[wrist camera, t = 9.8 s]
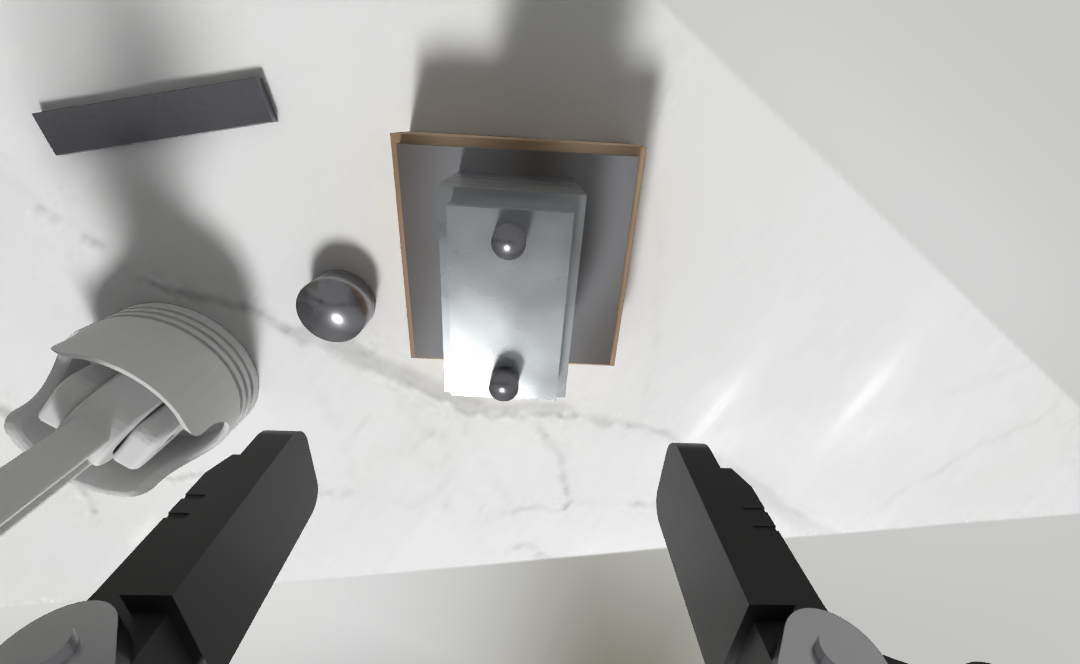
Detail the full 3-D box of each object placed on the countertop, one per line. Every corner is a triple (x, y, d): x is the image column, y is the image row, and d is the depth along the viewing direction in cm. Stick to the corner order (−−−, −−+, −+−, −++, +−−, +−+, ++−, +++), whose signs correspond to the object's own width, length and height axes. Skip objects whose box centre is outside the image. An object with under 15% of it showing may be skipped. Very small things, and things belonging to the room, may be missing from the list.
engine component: (287, 372, 30) (143, 271, 26) (-117, 784, 11) (-758, 620, 8) (208, 456, 33) (71, 375, 30) (-206, 883, 14) (-688, 795, 11)
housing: (458, 171, 20) (425, 192, 14) (575, 179, 20) (592, 204, 14) (461, 341, 24) (436, 415, 18) (559, 346, 24) (567, 421, 18)
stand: (424, 332, 28) (408, 362, 25) (409, 131, 23) (386, 133, 19) (605, 339, 29) (615, 370, 25) (631, 143, 23) (649, 147, 20)
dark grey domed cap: (318, 326, 28) (303, 341, 26) (306, 268, 27) (289, 279, 25) (379, 328, 28) (369, 342, 27) (371, 270, 27) (359, 281, 25)
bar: (74, 154, 24) (55, 155, 23) (51, 113, 23) (31, 113, 22) (282, 121, 23) (272, 121, 22) (267, 79, 22) (256, 77, 21)
